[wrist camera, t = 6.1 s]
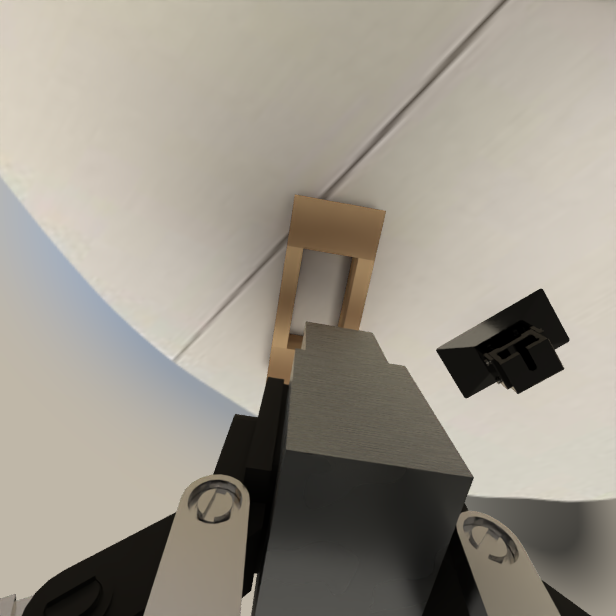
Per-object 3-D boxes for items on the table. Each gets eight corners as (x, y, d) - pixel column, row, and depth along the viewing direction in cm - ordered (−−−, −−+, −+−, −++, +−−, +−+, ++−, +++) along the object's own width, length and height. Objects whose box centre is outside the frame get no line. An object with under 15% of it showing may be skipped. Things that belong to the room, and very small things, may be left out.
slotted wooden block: (296, 195, 25) (294, 194, 22) (377, 210, 25) (385, 210, 22) (270, 367, 29) (265, 385, 26) (339, 378, 29) (343, 397, 26)
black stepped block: (552, 266, 27) (599, 278, 22) (587, 338, 28) (637, 362, 24) (413, 348, 29) (431, 374, 25) (453, 411, 31) (477, 445, 26)
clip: (298, 314, 12) (285, 449, 5) (382, 329, 12) (474, 477, 5) (273, 456, 14) (239, 697, 7) (347, 467, 14) (384, 714, 7)
